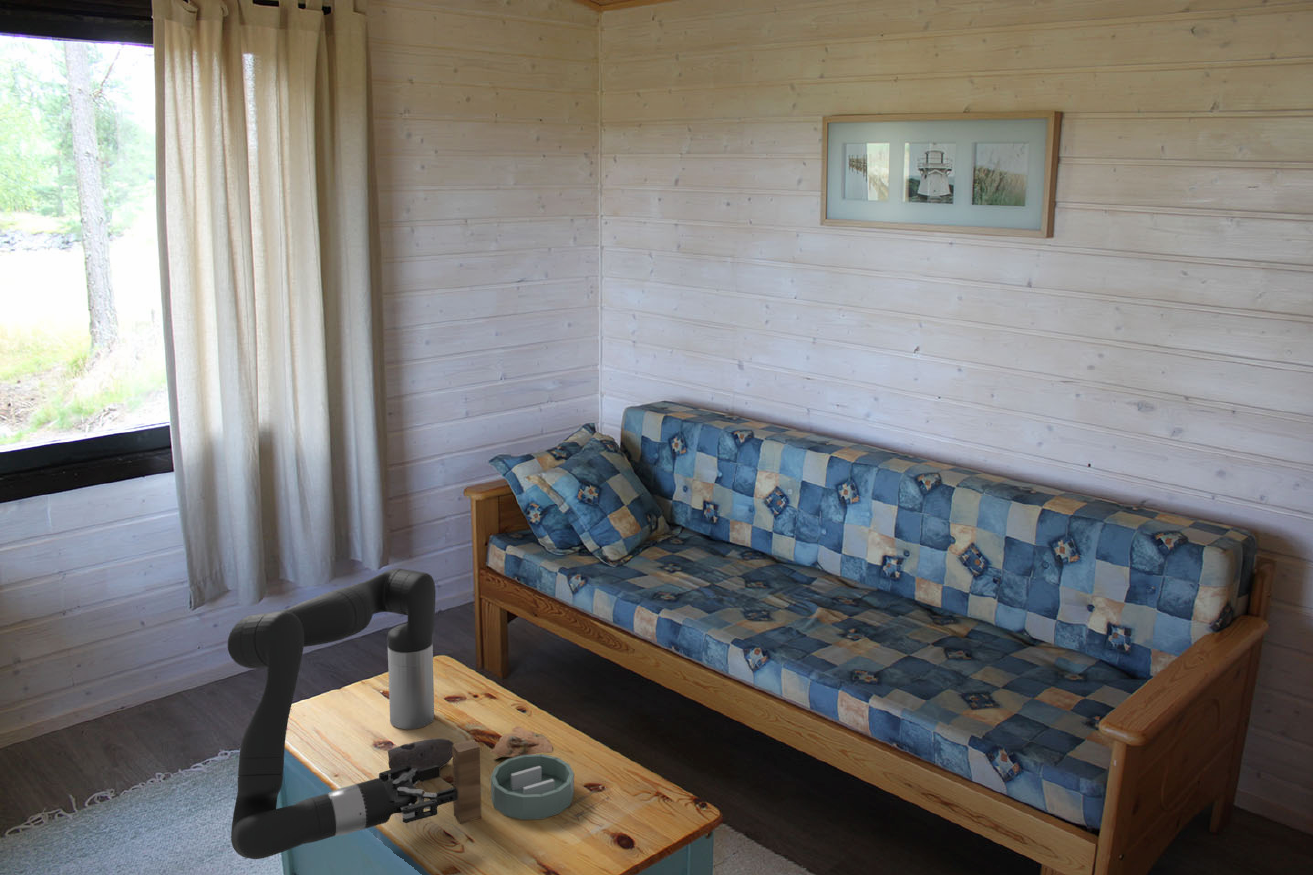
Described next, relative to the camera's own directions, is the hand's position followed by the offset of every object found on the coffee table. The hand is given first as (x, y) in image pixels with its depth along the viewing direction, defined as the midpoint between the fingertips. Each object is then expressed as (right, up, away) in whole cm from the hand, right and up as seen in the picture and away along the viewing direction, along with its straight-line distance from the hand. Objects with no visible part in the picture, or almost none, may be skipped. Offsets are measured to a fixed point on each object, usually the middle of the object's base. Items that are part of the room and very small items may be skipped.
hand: (447, 781), depth 192 cm
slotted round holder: (+14, -6, +10) cm, 18 cm away
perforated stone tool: (-8, -4, +17) cm, 20 cm away
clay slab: (+8, -2, +29) cm, 30 cm away
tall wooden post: (+3, -7, +4) cm, 9 cm away
